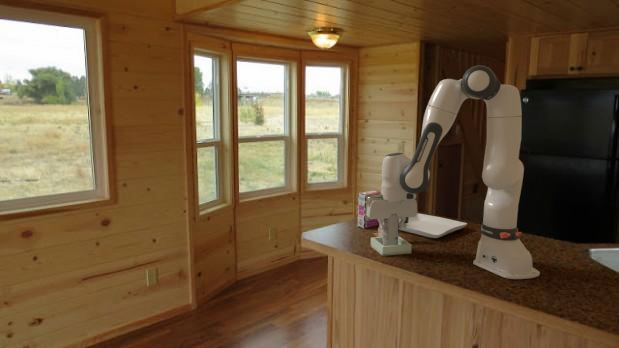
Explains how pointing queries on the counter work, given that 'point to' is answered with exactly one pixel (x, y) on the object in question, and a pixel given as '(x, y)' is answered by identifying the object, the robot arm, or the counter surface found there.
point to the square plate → (431, 226)
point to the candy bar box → (365, 210)
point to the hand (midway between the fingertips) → (391, 228)
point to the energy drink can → (391, 230)
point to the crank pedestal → (379, 233)
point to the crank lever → (403, 223)
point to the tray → (391, 247)
